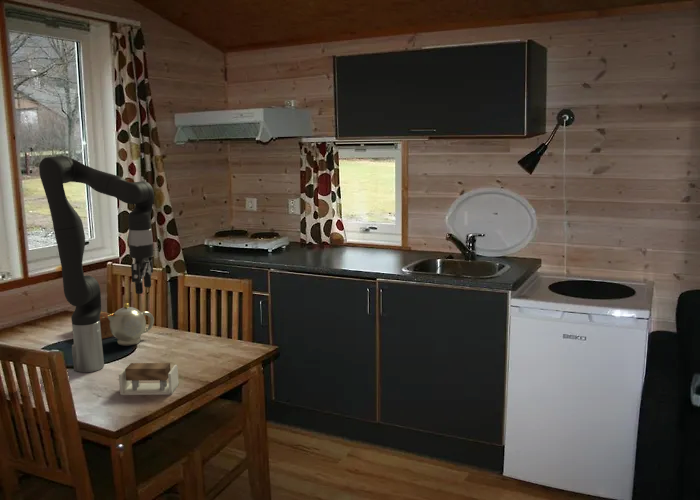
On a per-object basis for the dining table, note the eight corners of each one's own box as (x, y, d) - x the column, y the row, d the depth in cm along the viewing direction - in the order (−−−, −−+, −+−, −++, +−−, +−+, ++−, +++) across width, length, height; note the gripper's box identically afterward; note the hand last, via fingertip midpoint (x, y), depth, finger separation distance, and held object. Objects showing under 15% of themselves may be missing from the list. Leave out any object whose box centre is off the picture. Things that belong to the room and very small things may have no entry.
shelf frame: (120, 395, 205) (118, 374, 203) (128, 385, 212) (127, 365, 211) (172, 394, 205) (170, 373, 203) (178, 384, 212) (177, 364, 211)
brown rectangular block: (170, 374, 210) (170, 362, 209) (166, 380, 205) (165, 368, 204) (131, 374, 210) (130, 363, 210) (126, 380, 205) (125, 368, 205)
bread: (118, 336, 264) (116, 312, 262) (92, 342, 256) (90, 318, 254) (98, 326, 277) (96, 304, 275) (74, 332, 269) (71, 309, 267)
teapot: (115, 351, 245) (112, 310, 242) (105, 342, 256) (101, 302, 252) (161, 341, 256) (158, 302, 252) (149, 333, 266) (146, 295, 263)
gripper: (136, 238, 217) (139, 284, 220) (121, 246, 203) (124, 295, 206) (158, 238, 217) (161, 285, 220) (145, 246, 203) (148, 295, 206)
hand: (143, 290), depth 213 cm, fingers open, 8 cm apart
